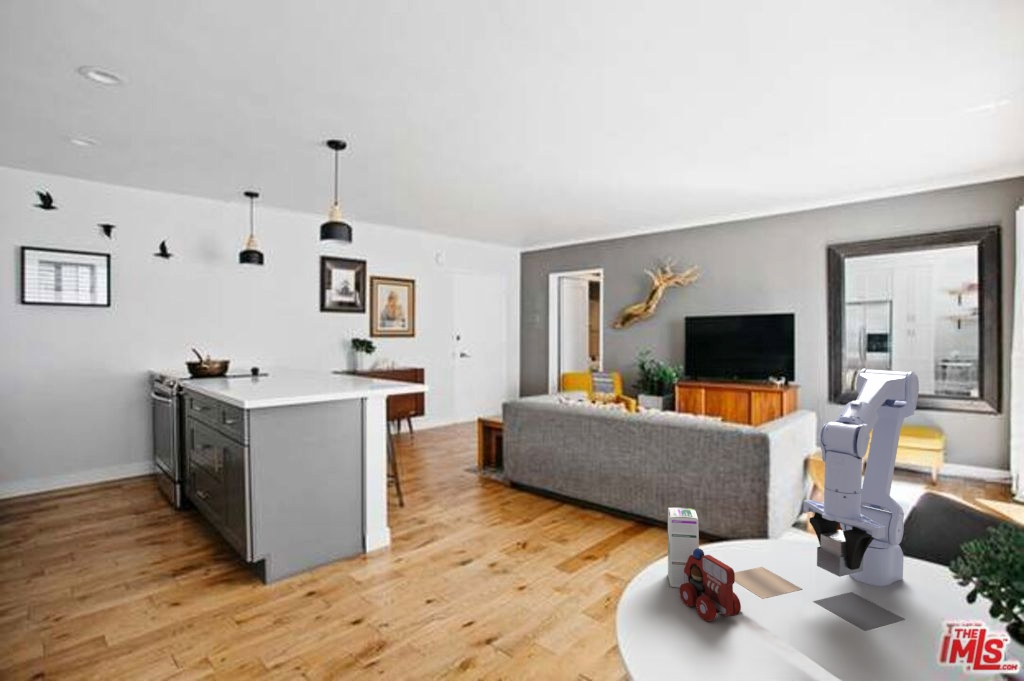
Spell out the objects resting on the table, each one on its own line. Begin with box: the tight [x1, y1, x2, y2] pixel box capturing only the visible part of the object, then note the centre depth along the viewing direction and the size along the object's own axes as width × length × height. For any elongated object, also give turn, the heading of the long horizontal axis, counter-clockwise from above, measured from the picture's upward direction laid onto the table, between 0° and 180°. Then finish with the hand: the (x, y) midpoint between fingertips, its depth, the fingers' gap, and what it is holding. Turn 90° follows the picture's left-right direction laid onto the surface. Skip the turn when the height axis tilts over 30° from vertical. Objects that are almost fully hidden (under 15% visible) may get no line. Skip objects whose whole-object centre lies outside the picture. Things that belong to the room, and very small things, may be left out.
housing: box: [816, 529, 864, 578], centre depth 98 cm, size 6×4×6 cm
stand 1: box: [734, 566, 803, 600], centre depth 107 cm, size 10×10×2 cm
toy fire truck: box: [679, 547, 742, 622], centre depth 100 cm, size 7×12×10 cm, turn 18°
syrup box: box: [667, 507, 700, 589], centre depth 110 cm, size 6×6×14 cm
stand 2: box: [812, 591, 906, 632], centre depth 97 cm, size 10×10×2 cm
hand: (840, 562), depth 98 cm, fingers closed on housing, 4 cm apart
